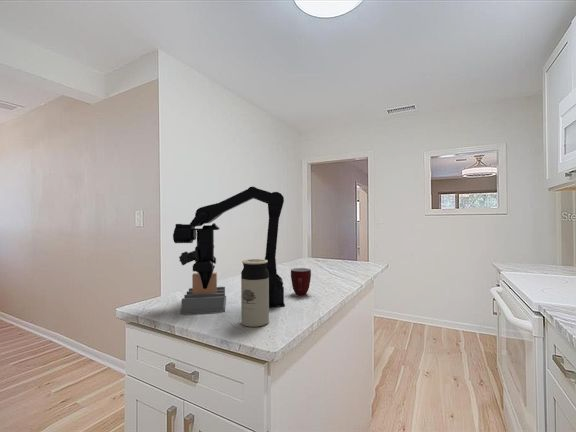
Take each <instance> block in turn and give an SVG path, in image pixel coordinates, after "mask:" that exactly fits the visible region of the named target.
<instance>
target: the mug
mask: <svg viewBox="0 0 576 432" xmlns="http://www.w3.org/2000/svg"><path fill="white" fill-rule="evenodd" d="M311 278H312V270H311V269H310V268H306V267H304V268H303V267H298V268H292V269H290V280H291V285H292V286H291V287H292V290H293V291H294V294H295V295H296V296H297V295H298V297H304V295H305V296H306V295H307V293H308V292H309V290H310V286H311V285H310V284H311Z"/></svg>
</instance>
